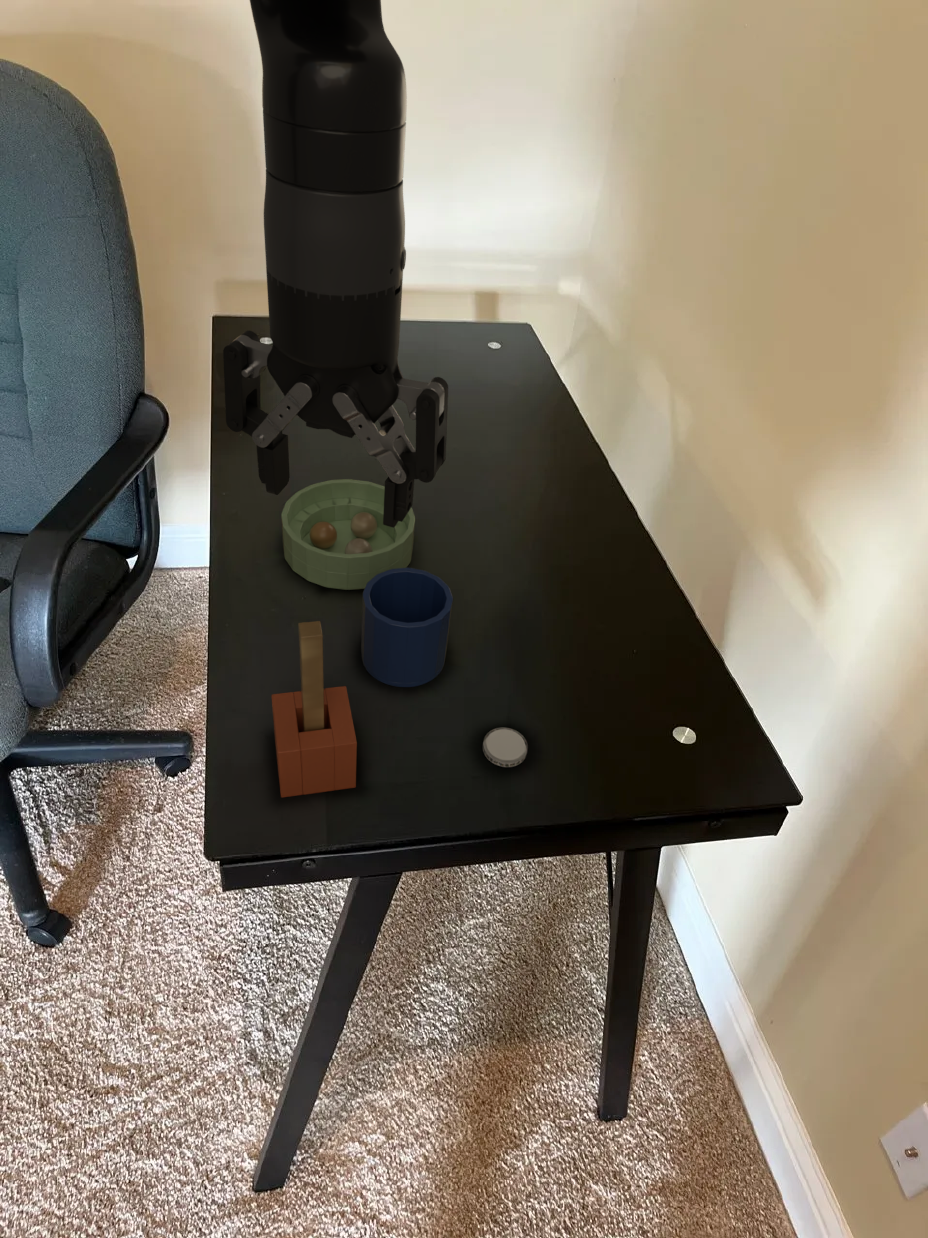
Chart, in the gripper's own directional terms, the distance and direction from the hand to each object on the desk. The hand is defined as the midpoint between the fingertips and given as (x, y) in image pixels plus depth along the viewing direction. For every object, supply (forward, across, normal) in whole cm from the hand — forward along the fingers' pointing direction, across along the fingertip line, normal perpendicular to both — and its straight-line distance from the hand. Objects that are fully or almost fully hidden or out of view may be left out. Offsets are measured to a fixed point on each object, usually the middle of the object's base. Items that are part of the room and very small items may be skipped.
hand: (335, 504), depth 57 cm
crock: (+25, +2, +12) cm, 28 cm away
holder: (+25, 0, -3) cm, 25 cm away
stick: (+25, 0, -3) cm, 25 cm away
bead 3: (+23, -7, +23) cm, 33 cm away
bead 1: (+23, -12, +24) cm, 35 cm away
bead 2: (+23, -9, +27) cm, 37 cm away
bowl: (+25, -9, +25) cm, 36 cm away
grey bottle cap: (+25, +15, +4) cm, 29 cm away
